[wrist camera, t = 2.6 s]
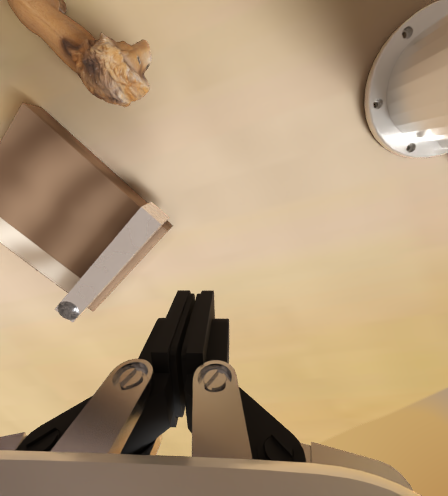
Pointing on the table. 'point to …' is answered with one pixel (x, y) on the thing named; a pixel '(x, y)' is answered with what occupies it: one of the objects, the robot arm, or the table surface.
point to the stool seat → (61, 202)
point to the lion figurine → (89, 52)
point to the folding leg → (112, 260)
